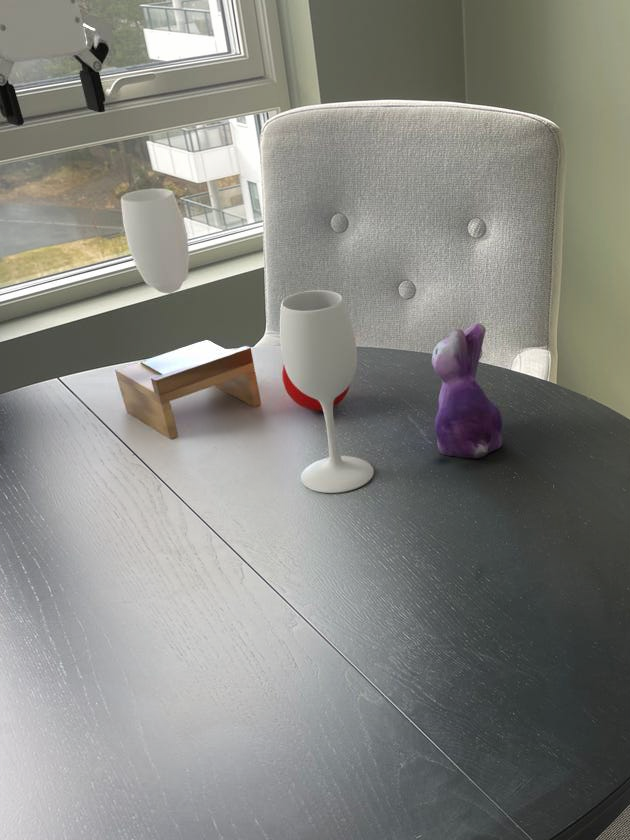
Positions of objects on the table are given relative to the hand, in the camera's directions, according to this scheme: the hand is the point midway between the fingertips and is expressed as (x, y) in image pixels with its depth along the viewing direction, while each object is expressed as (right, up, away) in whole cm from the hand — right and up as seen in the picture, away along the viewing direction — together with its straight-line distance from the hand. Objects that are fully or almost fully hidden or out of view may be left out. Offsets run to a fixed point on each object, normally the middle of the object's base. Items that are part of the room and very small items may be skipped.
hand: (57, 117), depth 111 cm
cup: (+9, -23, +19) cm, 31 cm away
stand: (+9, -28, +22) cm, 37 cm away
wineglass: (+31, -40, +5) cm, 51 cm away
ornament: (+27, -29, +20) cm, 44 cm away
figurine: (+46, -35, +11) cm, 59 cm away
